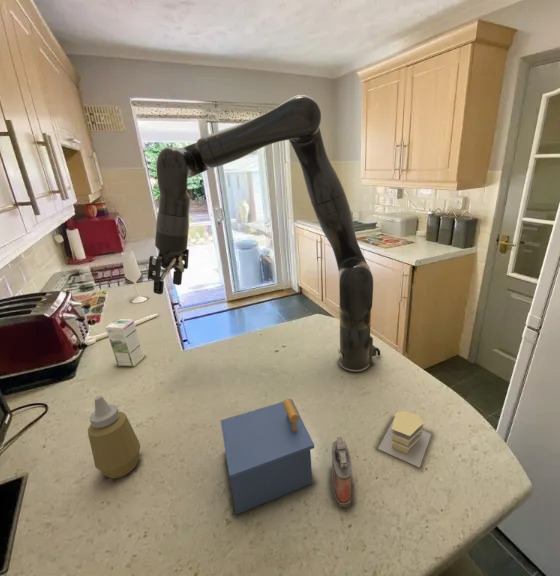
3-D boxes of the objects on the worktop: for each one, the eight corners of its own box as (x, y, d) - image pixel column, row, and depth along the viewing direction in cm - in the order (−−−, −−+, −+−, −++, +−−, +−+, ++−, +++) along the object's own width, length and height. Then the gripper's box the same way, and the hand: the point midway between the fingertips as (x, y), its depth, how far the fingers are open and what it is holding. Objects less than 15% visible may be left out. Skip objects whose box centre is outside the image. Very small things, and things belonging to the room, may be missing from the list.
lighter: (330, 468, 64) (329, 430, 60) (346, 466, 64) (346, 429, 60) (335, 508, 56) (334, 468, 52) (354, 506, 56) (354, 466, 53)
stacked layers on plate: (419, 467, 63) (421, 447, 61) (378, 449, 68) (379, 429, 66) (431, 434, 71) (433, 415, 69) (393, 419, 75) (395, 401, 73)
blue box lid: (292, 401, 69) (290, 383, 68) (314, 448, 58) (313, 427, 56) (221, 423, 64) (217, 404, 62) (229, 479, 52) (225, 457, 51)
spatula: (154, 314, 136) (152, 308, 135) (159, 316, 134) (158, 310, 133) (82, 343, 114) (80, 336, 113) (87, 346, 112) (85, 339, 111)
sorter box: (291, 433, 72) (288, 402, 69) (312, 483, 61) (310, 449, 57) (226, 455, 67) (221, 423, 64) (236, 514, 55) (229, 479, 52)
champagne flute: (143, 296, 157) (131, 250, 149) (149, 299, 153) (138, 251, 145) (129, 300, 152) (116, 253, 143) (135, 303, 148) (122, 255, 140)
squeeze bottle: (152, 455, 68) (132, 388, 61) (119, 489, 61) (92, 417, 54) (125, 446, 70) (102, 380, 64) (90, 477, 63) (61, 407, 57)
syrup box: (144, 357, 105) (134, 318, 99) (133, 367, 99) (121, 327, 94) (129, 356, 105) (117, 318, 100) (116, 366, 100) (104, 326, 94)
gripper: (169, 238, 73) (165, 300, 78) (200, 231, 86) (194, 284, 91) (139, 230, 73) (137, 293, 78) (174, 224, 87) (170, 278, 92)
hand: (168, 288), depth 85 cm, fingers open, 8 cm apart
